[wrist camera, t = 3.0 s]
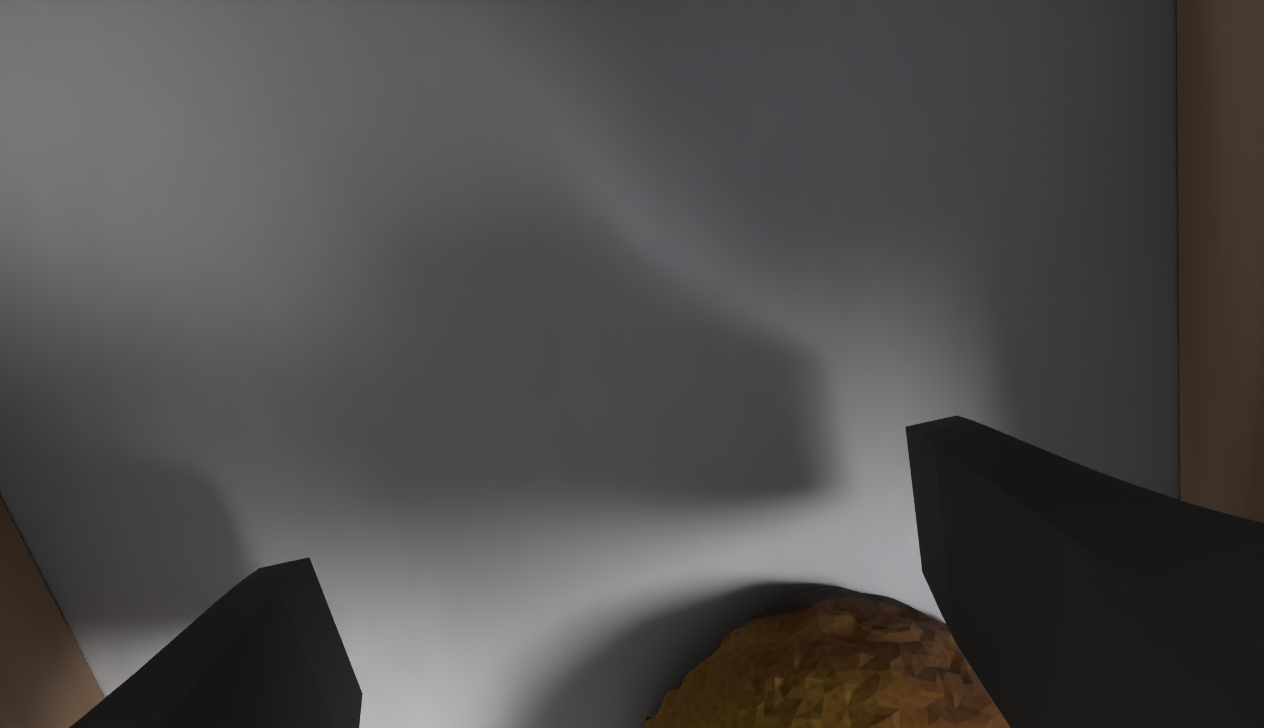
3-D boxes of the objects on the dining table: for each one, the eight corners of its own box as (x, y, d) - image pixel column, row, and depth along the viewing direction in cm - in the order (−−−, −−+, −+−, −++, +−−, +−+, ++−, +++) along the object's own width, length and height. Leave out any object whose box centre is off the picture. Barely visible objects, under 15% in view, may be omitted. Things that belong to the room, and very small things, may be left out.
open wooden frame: (1296, -490, 10) (1595, -680, 7) (1254, 863, 16) (1398, 1046, 14) (-432, -81, 10) (-824, -103, 7) (229, 1084, 17) (162, 1309, 14)
